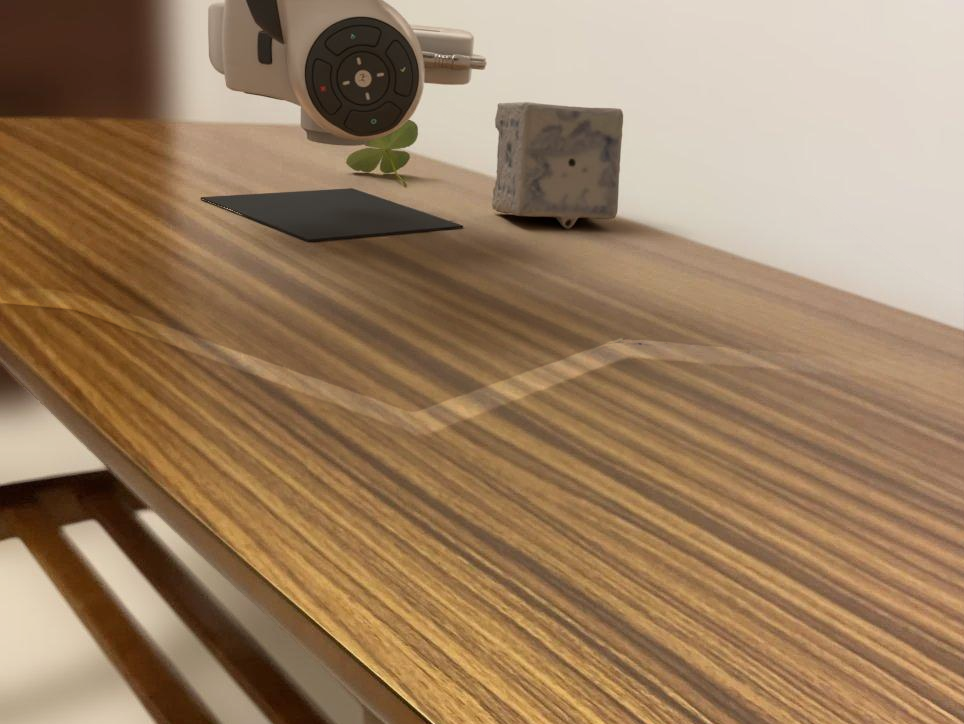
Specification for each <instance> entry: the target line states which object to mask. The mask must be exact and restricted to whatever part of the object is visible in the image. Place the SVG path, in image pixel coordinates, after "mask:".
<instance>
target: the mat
mask: <svg viewBox="0 0 964 724" xmlns="http://www.w3.org/2000/svg"><path fill="white" fill-rule="evenodd" d="M201 199H204V200H206V201H209V202H211V203H214V204H216V205H219V206H222V207H225V208H228V209H231V210H233V211H235V212H238V213H240V214H242V215H244V216H246V217H245V218H247V217H248V218H247V219H249V218H250V220H252V221H254V222H257V223H259V222H260V224H262V225H264V224H265V225H264V226H267V227H270V228H272V229H275V230H277V231H280V232H282V233H285V234H287V235H290V236H293V237H295V238H298V239H300V240H303V241H305V242H307V243H311V242H313V243H314V242H322V241H323V242H324V241H335V240H344V239H345V240H347V239H355V238H367V237H378V236H389V235H400V234H410V233H421V232H432V231H433V232H434V231H443V230H444V231H445V230H455V229H463V228H464V225H463V224H460V223H457V222H454V221H451V220H448V219H445V218H442V217H439V216H437V215H433V214H431V213H427V212H425V211H421V210H418V209H415V208H412V207H410V206H406V205H404V204H400V203H397V202H395V201H391V200H389V199H386V198H383V197H379V196H377V195H374V194H370V193H367V192H365V191H362V190H358V189H356V188H353V187H350V188H333V189H332V188H331V189H315V190H300V191H299V190H298V191H297V190H296V191H283V192H279V191H278V192H265V193H249V194H248V193H247V194H230V195H229V194H228V195H215V196H212V195H211V196H200V200H201ZM206 201H205V202H206ZM209 202H208V203H209ZM211 203H210V204H211ZM214 204H213V205H214ZM216 205H215V206H216ZM219 206H218V207H219ZM242 215H241V216H242ZM244 216H243V217H244Z"/></svg>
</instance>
